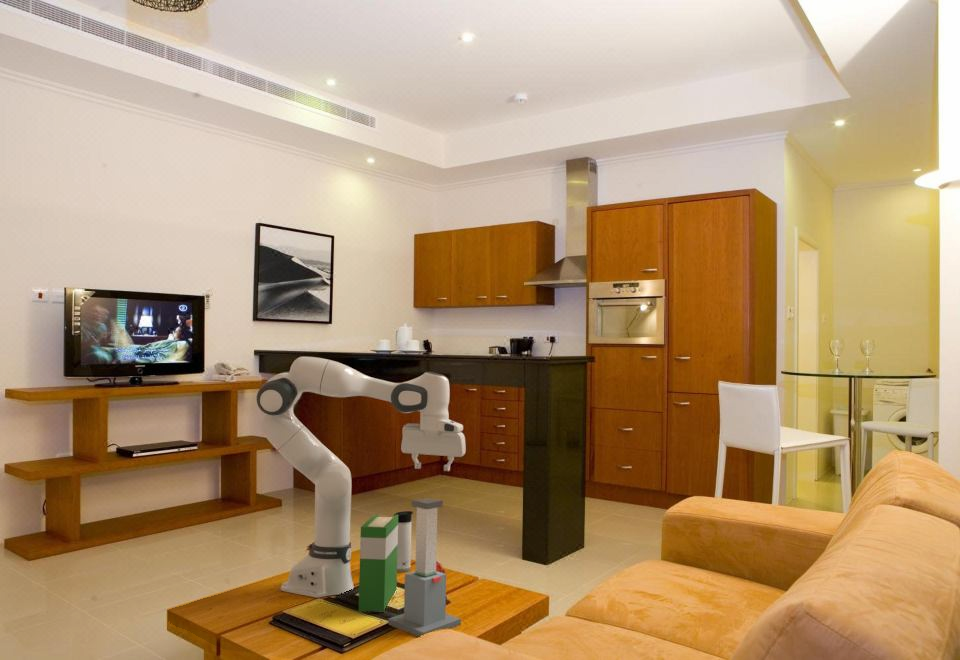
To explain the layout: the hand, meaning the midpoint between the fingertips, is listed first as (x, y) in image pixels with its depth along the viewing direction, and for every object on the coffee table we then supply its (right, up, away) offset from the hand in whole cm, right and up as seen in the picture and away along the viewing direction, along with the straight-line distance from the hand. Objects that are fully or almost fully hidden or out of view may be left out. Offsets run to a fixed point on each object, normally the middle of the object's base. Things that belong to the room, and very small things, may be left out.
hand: (432, 469), depth 212 cm
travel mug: (-12, -40, +26) cm, 49 cm away
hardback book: (-16, -38, -8) cm, 42 cm away
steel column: (0, -29, -24) cm, 38 cm away
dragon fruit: (-1, -39, +9) cm, 41 cm away
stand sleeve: (0, -37, -25) cm, 45 cm away
